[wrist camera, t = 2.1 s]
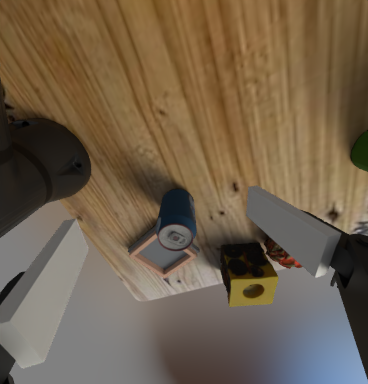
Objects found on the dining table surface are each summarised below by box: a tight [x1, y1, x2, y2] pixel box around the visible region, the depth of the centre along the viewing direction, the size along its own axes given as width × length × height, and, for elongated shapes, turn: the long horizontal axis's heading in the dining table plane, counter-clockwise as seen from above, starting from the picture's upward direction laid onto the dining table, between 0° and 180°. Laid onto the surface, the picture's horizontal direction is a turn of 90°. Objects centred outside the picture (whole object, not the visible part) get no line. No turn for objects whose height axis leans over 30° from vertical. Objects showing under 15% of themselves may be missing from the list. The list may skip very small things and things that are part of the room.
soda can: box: [156, 189, 196, 251], centre depth 32 cm, size 7×7×12 cm
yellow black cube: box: [220, 243, 278, 307], centre depth 42 cm, size 10×10×10 cm
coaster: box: [128, 225, 199, 278], centre depth 43 cm, size 13×13×3 cm
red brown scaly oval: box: [264, 238, 303, 269], centre depth 40 cm, size 8×8×12 cm
